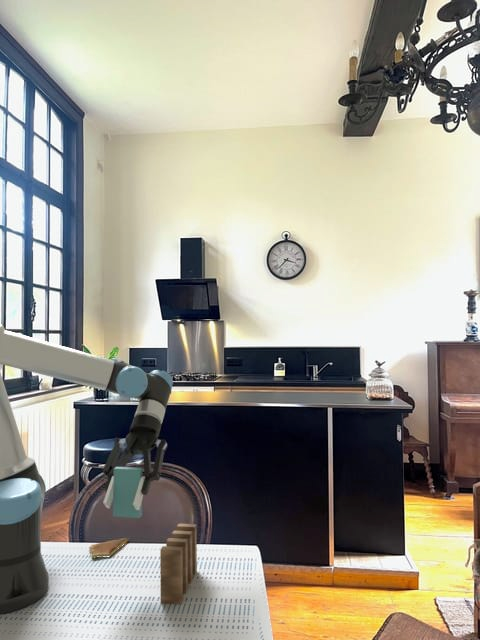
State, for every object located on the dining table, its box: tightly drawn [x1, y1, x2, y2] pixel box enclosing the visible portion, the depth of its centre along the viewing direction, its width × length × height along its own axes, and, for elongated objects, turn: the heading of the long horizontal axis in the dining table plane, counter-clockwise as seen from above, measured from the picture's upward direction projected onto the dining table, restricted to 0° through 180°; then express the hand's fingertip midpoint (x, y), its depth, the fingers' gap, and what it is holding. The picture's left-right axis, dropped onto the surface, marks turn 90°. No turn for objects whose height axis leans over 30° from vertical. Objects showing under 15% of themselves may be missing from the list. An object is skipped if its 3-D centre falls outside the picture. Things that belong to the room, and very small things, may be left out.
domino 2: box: [176, 523, 198, 576], centre depth 106 cm, size 4×2×11 cm, turn 81°
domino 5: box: [159, 545, 184, 605], centre depth 94 cm, size 4×2×11 cm, turn 81°
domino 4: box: [165, 537, 189, 595], centre depth 98 cm, size 4×2×11 cm, turn 81°
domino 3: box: [171, 530, 193, 585], centre depth 102 cm, size 4×2×11 cm, turn 81°
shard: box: [88, 536, 130, 559], centre depth 118 cm, size 11×8×2 cm
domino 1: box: [112, 466, 143, 519], centre depth 104 cm, size 6×2×11 cm, turn 81°
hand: (121, 506), depth 100 cm, fingers closed on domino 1, 6 cm apart
